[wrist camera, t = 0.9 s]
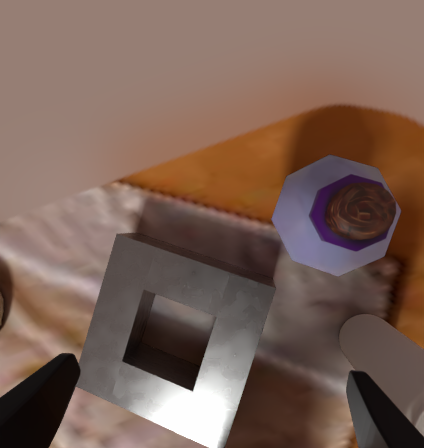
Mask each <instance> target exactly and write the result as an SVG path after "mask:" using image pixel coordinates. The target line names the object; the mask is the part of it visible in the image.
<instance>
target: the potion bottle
mask: <svg viewBox="0 0 424 448" xmlns="http://www.w3.org/2000/svg"><path fill="white" fill-rule="evenodd" d="M400 213H401V209H400V208H399V206H398V204H397V202H396V200H395V198H394V197H393V195H392V193H391V191H390V189H389V187H388V186H387V184H386V182H385V180H384V178H383V177H382V175H381V173H380V171H379V169H378V168H376V167H372V166H369V165H365V164H362V163H358V162H355V161H351V160H348V159H344V158H340V157H337V156H333V155H328V156H326V157H324V158H322V159H320V160H318V161H316V162H314V163H312V164H310V165H308V166H306V167H304V168H302V169H300V170H298V171H296V172H294V173H292V174H290V175H288V176H286V179H285V182H284V185H283V188H282V191H281V194H280V196H279V199H278V202H277V205H276V208H275V211H274V214H273V217H272V221H273V223H274V225H275V227H276V229H277V231H278V233H279V235H280V237H281V239H282V241H283V243H284V245H285V247H286V249H287V251H288V253H289V255H290V257H291V259H292V260H293V261H295V262H298V263H301V264H304V265H307V266H310V267H313V268H315V269H318V270H321V271H324V272H327V273H330V274H332V275H335V276H341V275H343V274H345V273H348V272H350V271H352V270H355V269H357V268H359V267H361V266H364V265H366V264H368V263H371V262H373V261H375V260H378V259H380V258H382V257H384V256H385V253H386V251H387V248H388V245H389V243H390V240H391V237H392V235H393V232H394V229H395V226H396V224H397V221H398V218H399V216H400Z"/></svg>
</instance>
